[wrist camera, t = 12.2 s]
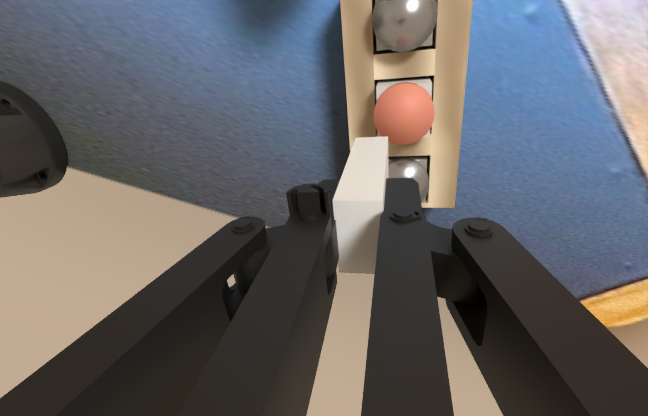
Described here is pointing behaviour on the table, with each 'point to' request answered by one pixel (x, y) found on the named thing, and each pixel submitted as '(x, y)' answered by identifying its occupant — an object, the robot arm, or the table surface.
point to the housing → (435, 61)
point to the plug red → (404, 109)
